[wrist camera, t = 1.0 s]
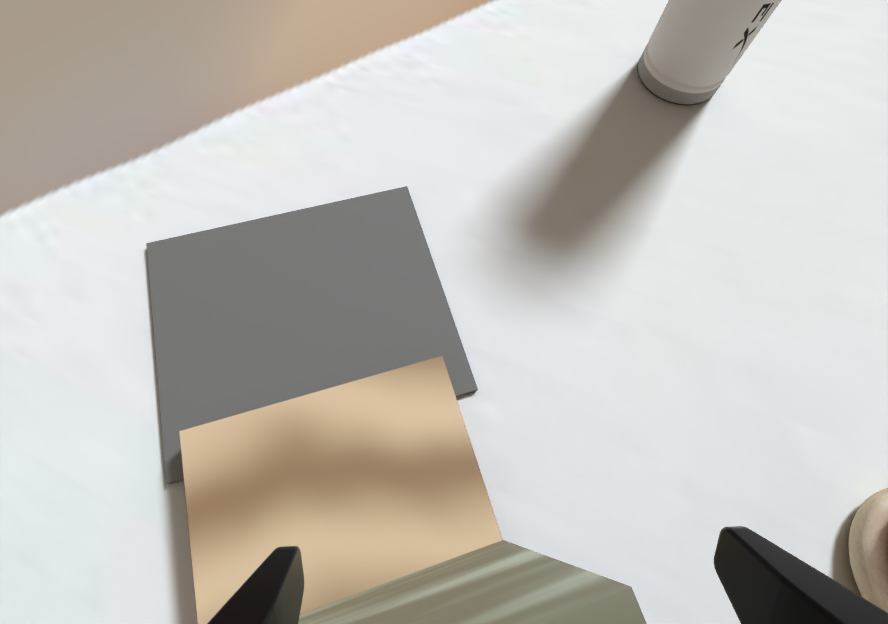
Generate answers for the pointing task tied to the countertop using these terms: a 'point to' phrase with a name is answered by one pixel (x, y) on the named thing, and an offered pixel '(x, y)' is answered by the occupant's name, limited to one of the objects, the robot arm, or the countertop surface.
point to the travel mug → (699, 46)
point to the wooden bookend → (373, 513)
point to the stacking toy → (871, 549)
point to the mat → (294, 310)
